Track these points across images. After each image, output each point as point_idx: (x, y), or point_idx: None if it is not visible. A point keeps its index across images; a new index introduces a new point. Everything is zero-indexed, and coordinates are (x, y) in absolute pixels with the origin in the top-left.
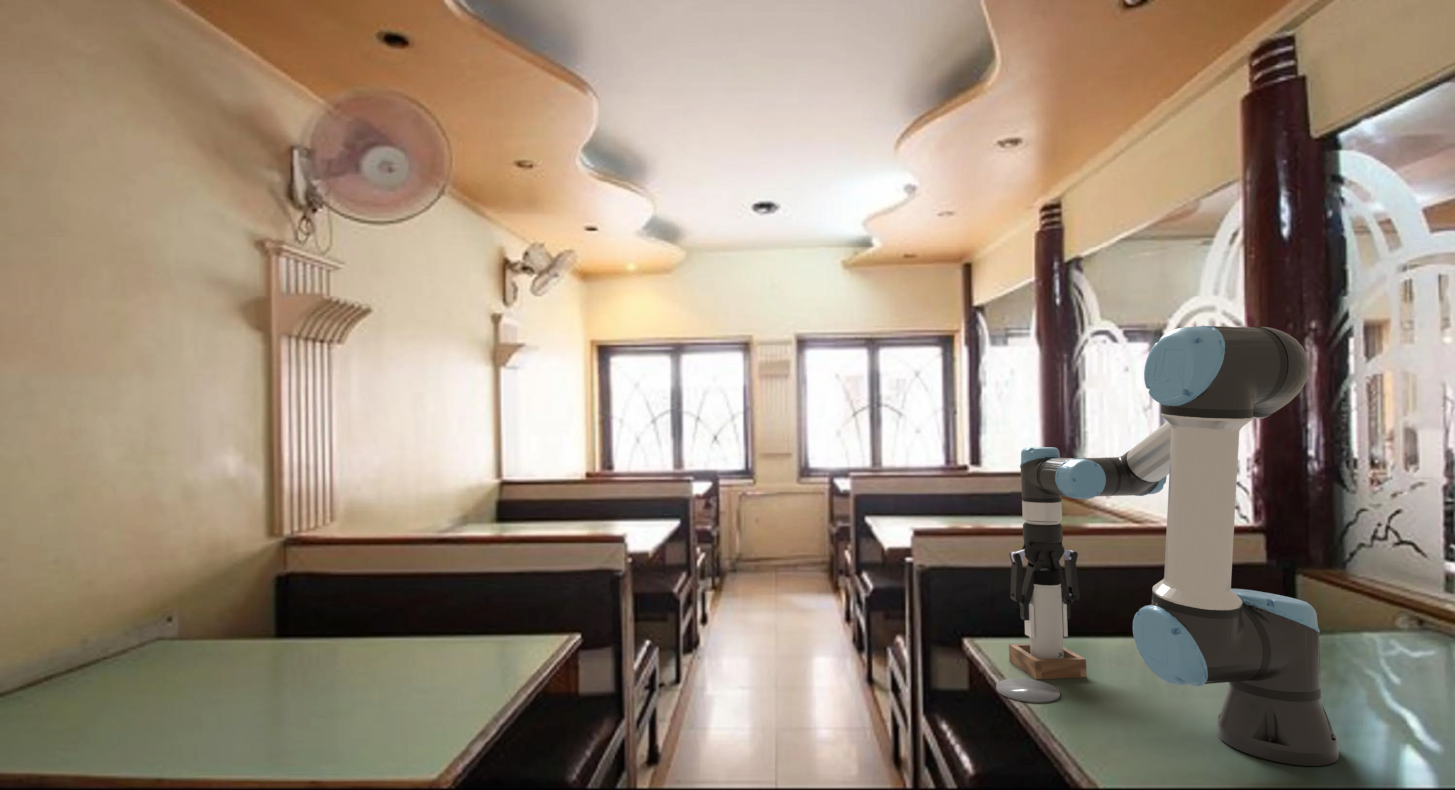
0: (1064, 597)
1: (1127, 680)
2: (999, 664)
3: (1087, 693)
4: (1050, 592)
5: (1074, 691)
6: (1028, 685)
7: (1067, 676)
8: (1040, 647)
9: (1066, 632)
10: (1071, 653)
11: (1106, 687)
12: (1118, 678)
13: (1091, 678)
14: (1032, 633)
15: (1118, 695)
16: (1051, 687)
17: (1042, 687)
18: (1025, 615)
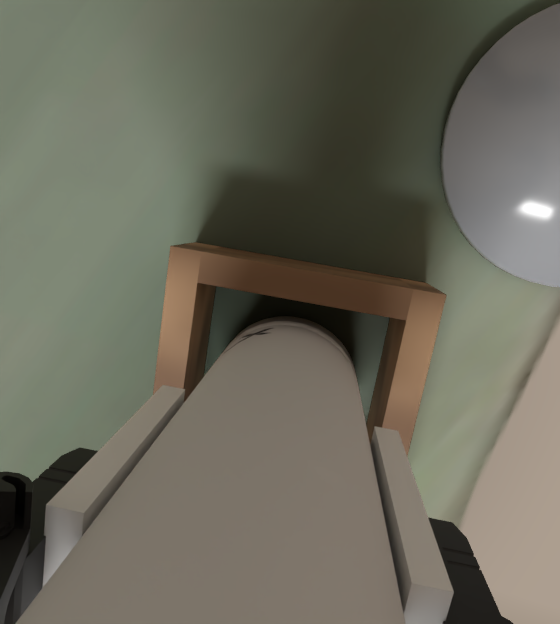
0: (14, 566)
1: (55, 161)
2: (442, 490)
3: (330, 62)
4: (257, 596)
5: (368, 101)
6: (552, 185)
7: (280, 257)
8: (353, 381)
9: (161, 395)
10: (179, 346)
11: (198, 108)
12: (74, 193)
13: (183, 226)
14: (393, 442)
15: (216, 3)
16: (467, 131)
17: (509, 141)
18: (455, 549)
